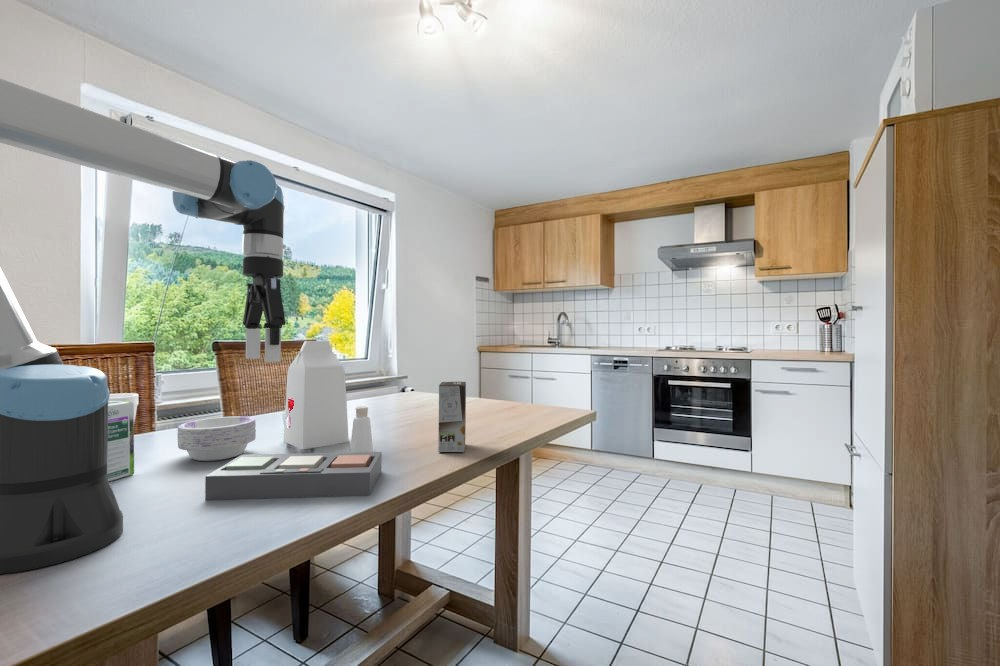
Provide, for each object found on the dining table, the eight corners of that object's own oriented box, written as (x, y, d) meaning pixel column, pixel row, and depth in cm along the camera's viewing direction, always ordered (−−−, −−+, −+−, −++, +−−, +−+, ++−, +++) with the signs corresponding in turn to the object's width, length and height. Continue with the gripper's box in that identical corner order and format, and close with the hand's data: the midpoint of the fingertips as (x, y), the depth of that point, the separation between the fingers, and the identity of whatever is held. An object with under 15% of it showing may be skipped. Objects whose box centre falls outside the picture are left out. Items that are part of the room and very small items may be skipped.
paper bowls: (171, 455, 107) (172, 420, 107) (245, 444, 117) (245, 413, 117) (183, 470, 96) (184, 431, 96) (264, 457, 106) (264, 422, 106)
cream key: (313, 476, 85) (314, 464, 85) (279, 477, 84) (279, 465, 84) (322, 467, 90) (322, 455, 90) (290, 467, 90) (290, 456, 90)
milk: (302, 449, 113) (303, 341, 113) (283, 441, 121) (284, 340, 121) (348, 441, 122) (349, 341, 122) (328, 434, 130) (328, 340, 130)
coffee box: (465, 453, 111) (465, 385, 111) (437, 453, 110) (438, 385, 110) (465, 444, 120) (466, 381, 120) (440, 444, 119) (440, 381, 119)
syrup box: (105, 483, 87) (105, 405, 87) (79, 481, 88) (80, 404, 88) (134, 474, 92) (135, 401, 92) (110, 472, 94) (110, 399, 93)
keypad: (369, 495, 82) (369, 470, 82) (205, 500, 79) (205, 474, 79) (381, 471, 96) (381, 450, 96) (241, 474, 93) (242, 453, 93)
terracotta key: (365, 475, 85) (365, 463, 85) (331, 476, 85) (331, 464, 85) (370, 466, 91) (370, 454, 91) (338, 466, 91) (339, 455, 91)
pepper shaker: (344, 456, 107) (344, 408, 107) (358, 450, 112) (358, 404, 112) (365, 458, 105) (365, 409, 105) (378, 452, 111) (378, 405, 111)
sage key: (261, 477, 84) (261, 465, 84) (226, 478, 83) (226, 466, 83) (274, 468, 90) (274, 456, 90) (241, 468, 89) (241, 457, 89)
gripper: (303, 252, 91) (302, 362, 91) (264, 265, 109) (263, 357, 109) (261, 247, 85) (260, 364, 85) (228, 262, 104) (227, 357, 104)
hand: (262, 360), depth 97 cm, fingers open, 13 cm apart
